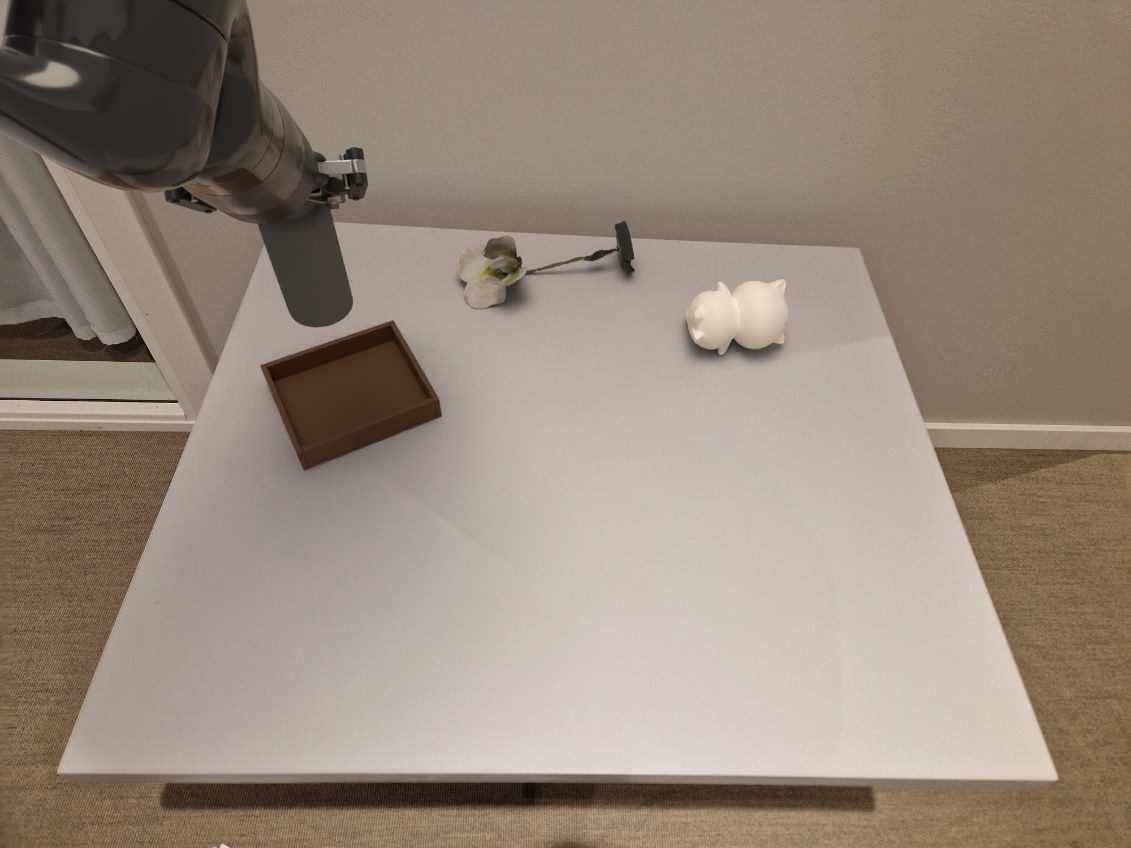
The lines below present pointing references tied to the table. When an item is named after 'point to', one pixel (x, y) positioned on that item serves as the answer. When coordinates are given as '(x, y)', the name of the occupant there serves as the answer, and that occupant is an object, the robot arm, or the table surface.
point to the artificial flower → (516, 266)
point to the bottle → (309, 266)
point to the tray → (350, 393)
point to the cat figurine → (739, 316)
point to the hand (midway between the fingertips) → (293, 199)
